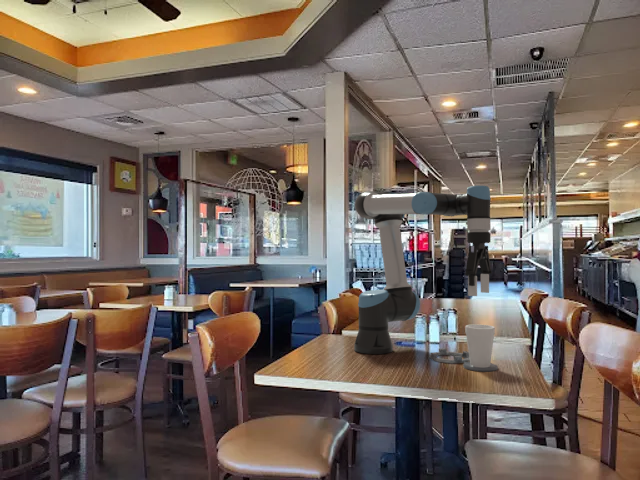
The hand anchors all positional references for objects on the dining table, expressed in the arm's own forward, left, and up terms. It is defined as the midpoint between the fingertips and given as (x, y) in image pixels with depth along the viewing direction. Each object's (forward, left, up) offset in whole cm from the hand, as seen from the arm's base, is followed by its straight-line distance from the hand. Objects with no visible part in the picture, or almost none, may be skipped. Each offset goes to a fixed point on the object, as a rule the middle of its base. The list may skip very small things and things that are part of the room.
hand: (478, 294), depth 165 cm
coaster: (0, 0, -25) cm, 25 cm away
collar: (-13, +7, -25) cm, 29 cm away
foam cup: (0, 0, -24) cm, 24 cm away
